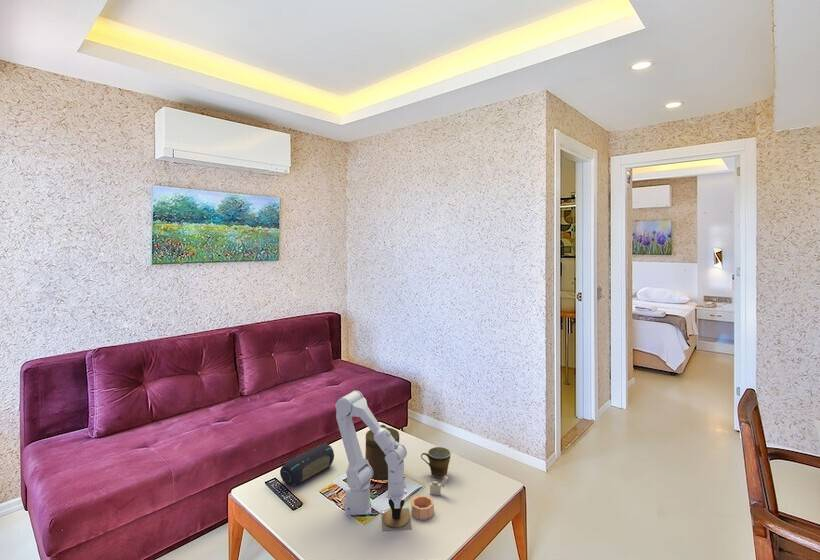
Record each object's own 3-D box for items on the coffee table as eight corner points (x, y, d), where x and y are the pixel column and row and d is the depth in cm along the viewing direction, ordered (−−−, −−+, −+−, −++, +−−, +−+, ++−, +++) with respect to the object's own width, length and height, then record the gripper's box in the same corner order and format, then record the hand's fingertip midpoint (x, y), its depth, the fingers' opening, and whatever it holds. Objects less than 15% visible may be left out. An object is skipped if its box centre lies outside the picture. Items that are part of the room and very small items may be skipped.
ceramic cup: (450, 469, 187) (450, 447, 186) (450, 481, 177) (450, 458, 176) (421, 467, 188) (421, 446, 188) (419, 479, 178) (420, 457, 178)
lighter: (429, 495, 168) (430, 476, 167) (430, 492, 169) (430, 473, 169) (447, 496, 166) (447, 477, 166) (447, 494, 168) (448, 475, 167)
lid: (383, 528, 147) (383, 515, 147) (382, 511, 157) (382, 499, 156) (410, 527, 148) (410, 514, 148) (408, 510, 157) (408, 497, 157)
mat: (382, 532, 146) (382, 531, 146) (381, 510, 158) (381, 509, 158) (411, 530, 147) (411, 529, 147) (408, 509, 159) (408, 508, 159)
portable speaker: (293, 492, 169) (292, 468, 169) (277, 484, 175) (277, 461, 174) (338, 466, 190) (338, 445, 189) (323, 459, 195) (322, 438, 195)
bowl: (412, 521, 152) (412, 509, 151) (410, 507, 160) (410, 496, 159) (434, 520, 153) (434, 508, 152) (431, 506, 161) (431, 495, 160)
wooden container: (388, 462, 193) (388, 415, 191) (406, 477, 181) (406, 427, 179) (359, 471, 185) (359, 423, 183) (375, 488, 172) (375, 436, 171)
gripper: (408, 490, 144) (408, 527, 145) (405, 468, 159) (405, 502, 160) (388, 491, 144) (388, 529, 145) (386, 469, 158) (386, 503, 159)
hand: (396, 515), depth 152 cm, fingers closed on lid, 3 cm apart
